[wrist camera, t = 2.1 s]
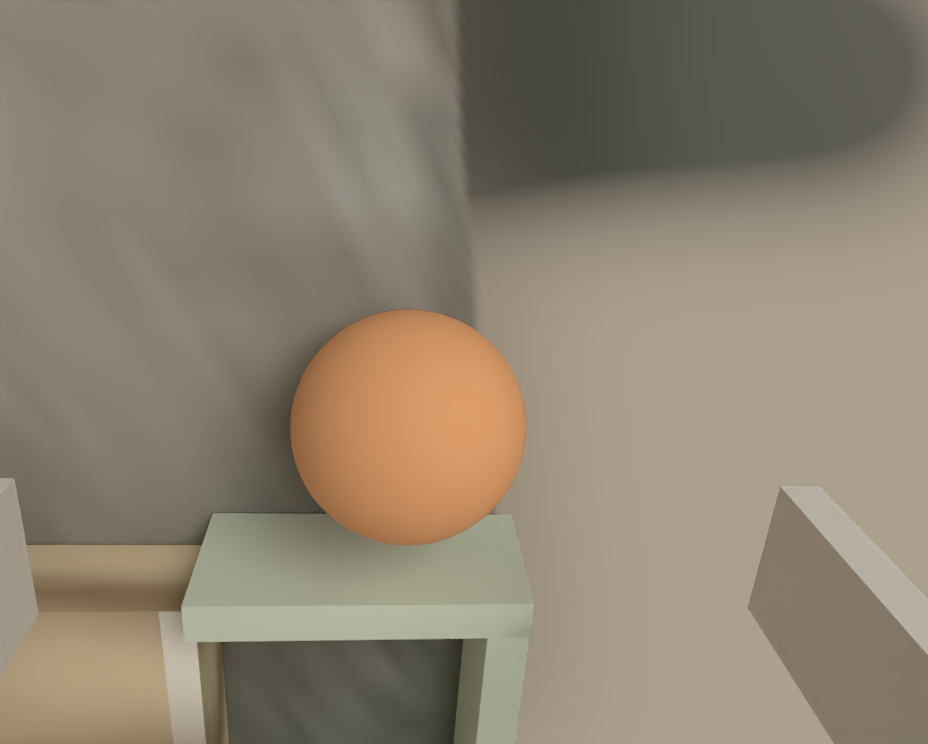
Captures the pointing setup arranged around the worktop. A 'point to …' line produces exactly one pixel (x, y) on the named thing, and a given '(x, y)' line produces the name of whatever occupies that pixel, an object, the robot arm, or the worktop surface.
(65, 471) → the worktop surface
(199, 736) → the ramp lane
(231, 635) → the tray
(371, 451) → the ball
